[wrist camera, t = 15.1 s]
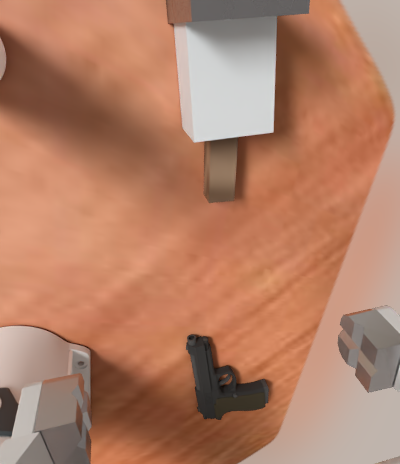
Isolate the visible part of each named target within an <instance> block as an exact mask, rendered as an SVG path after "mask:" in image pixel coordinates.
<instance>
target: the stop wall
mask: <svg viewBox="0 0 400 464" xmlns="http://www.w3.org/2000/svg"><path fill="white" fill-rule="evenodd" d="M309 4H310V0H166V5H167V16H168V24H170V23H184V22H198V21H212V20H226V19H240V18H254V17H268V16H282V15H296V14H309Z"/></svg>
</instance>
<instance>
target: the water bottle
mask: <svg viewBox="0 0 400 464" xmlns="http://www.w3.org/2000/svg"><path fill="white" fill-rule="evenodd" d="M5 68H6V52H5V48H4V45H3V42H2V40H1V38H0V80H1V78H2V76H3V74H4V72H5Z"/></svg>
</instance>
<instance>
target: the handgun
mask: <svg viewBox="0 0 400 464" xmlns="http://www.w3.org/2000/svg"><path fill="white" fill-rule="evenodd" d="M187 340H188V342H187V345H186V350H188V353H189V354H190V356H191V362H192V367H193V372H194V378H195V383H196V387H195V391H196V396H197V401H198V407H197V409H198V412H199V411H200V412H201V413H202V414H203V417H204V419H207V418H210V419H215V418H216V419H218V420H221V418H222V416H223V415H224V414H225V413H226V412H230V411H251V410H257V409H262V408H264V407H265V404H266V403H268V392H269V389H268V386H267V383H266V381H265V379H262V380H258V381H255V382H251V383H245V384H236V377H235V375H234V372H233V370H232V369H231V368H230V367H229V366H225V367H221V368H217V369H215V368H214V366H213V359H212V352H211V347H210V344H209V342H208V338H207V337H205V336H203V337H201V336H200V337H197V338H196V336H195V335H189V336H188V337H187ZM225 374H228V376H227V377H226V378H225V379H223V380H219V378H220V377H221V376H222V375H225ZM230 374H231V375H232V382H231V383H230V384H229V385H223V386H221V385H222V384H225V383H226V382H227V381H228V380H229V379H230Z"/></svg>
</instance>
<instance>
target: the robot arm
mask: <svg viewBox="0 0 400 464" xmlns="http://www.w3.org/2000/svg"><path fill="white" fill-rule="evenodd" d="M340 325H341V326H342V328H343V330H342V331H341V333H340V334H339V336H338V346H339V351H340V353H341V355H342V357H343V359H344V360H345V362H346V363H347V364H348V365H350V366H351V367H353V368H355V369H356V373H355V375H356V377H357V378H358V380H359V381H360V382H361V384H362V385H363V386H364V388H365V389H366V390H367V392H368V393H369V392H373V391H378V390H382V389H386V388H391V387H394V389H395V390H397V391H398V392H400V315H399V314H398V313H397V312H396V311H395V310H394V309H392V308H391V307H390V306H387V305H385V306H381V307H377V308H372V309H368V310H363V311H359V312H355V313H350V314H346V315H343V317H342V318H341V322H340ZM80 361H82V362H80ZM91 426H92V414H91V353H90V350H89V349H88V348H86V347H84V346H80V345H76V344H72V343H68V342H66V341H64V340H63V339H61V338H60V337H58V336H56V335H55V334H53V333H51V332H48V331H46V330H43V329H39V328H35V327H29V326H8V327H1V328H0V464H91V439H90V436H89V433H88V431H89V429H90V428H91ZM376 464H400V456H399V457H396V458H393V459H389V460H386V461H382V462H379V463H376Z"/></svg>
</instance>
